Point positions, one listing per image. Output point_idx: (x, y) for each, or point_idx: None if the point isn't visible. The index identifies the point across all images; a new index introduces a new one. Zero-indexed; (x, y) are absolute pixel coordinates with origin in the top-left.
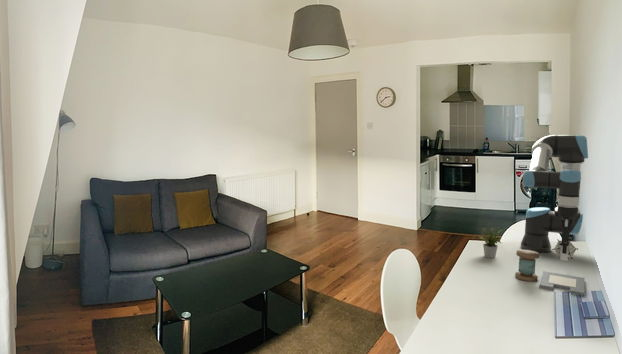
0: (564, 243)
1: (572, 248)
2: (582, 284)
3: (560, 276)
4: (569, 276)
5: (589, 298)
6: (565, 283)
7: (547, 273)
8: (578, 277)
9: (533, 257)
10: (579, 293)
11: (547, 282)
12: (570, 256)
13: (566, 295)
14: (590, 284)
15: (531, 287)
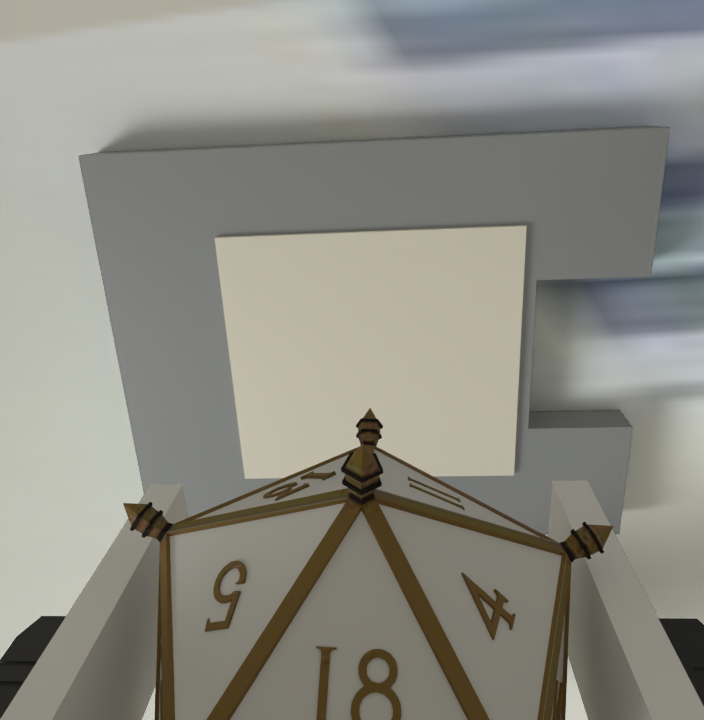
0: None
1: (461, 585)
2: (355, 163)
3: (214, 388)
4: (148, 308)
5: (687, 68)
6: (448, 331)
7: (202, 499)
8: (111, 219)
9: None
10: (658, 177)
11: (503, 479)
12: (430, 477)
13: (700, 290)
14: (165, 80)
15: None
